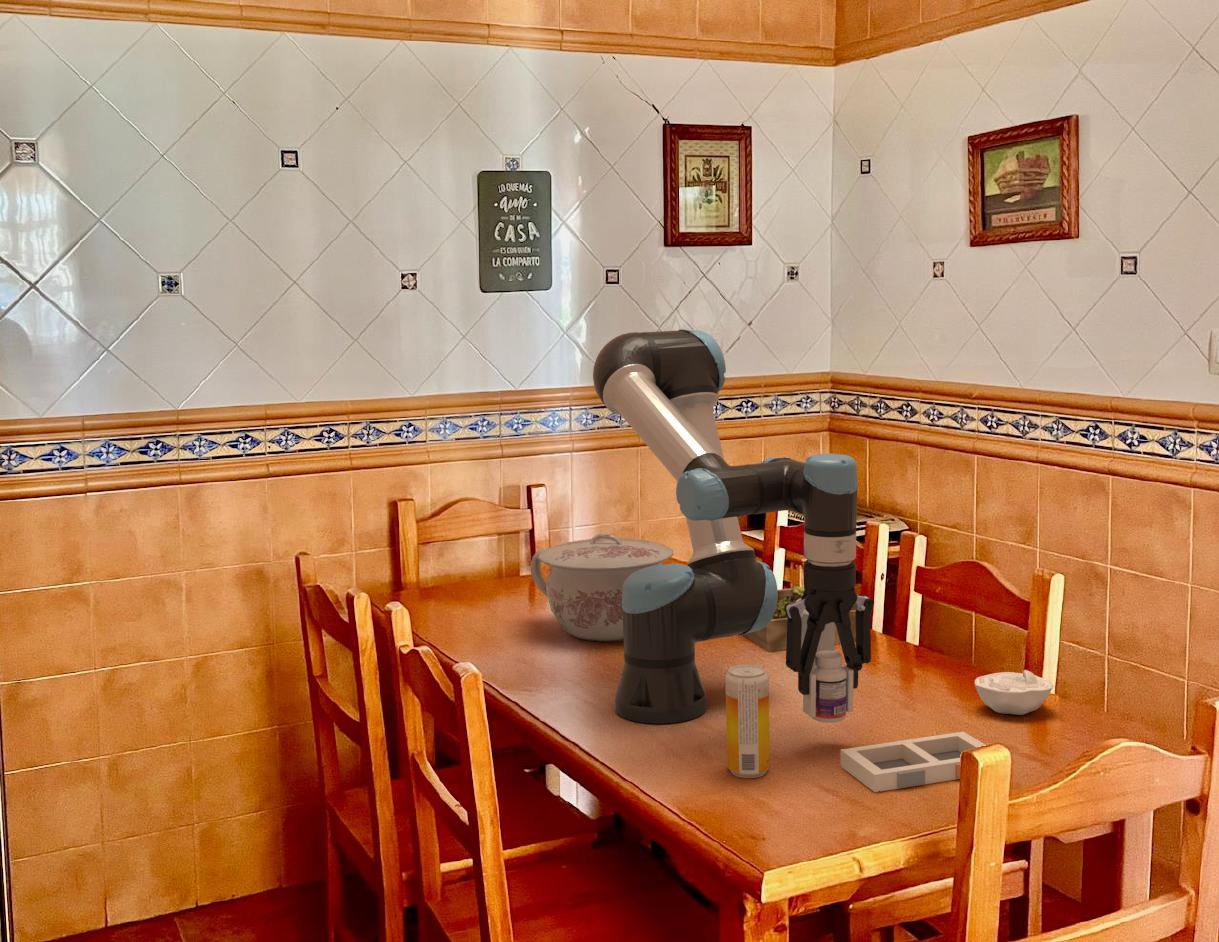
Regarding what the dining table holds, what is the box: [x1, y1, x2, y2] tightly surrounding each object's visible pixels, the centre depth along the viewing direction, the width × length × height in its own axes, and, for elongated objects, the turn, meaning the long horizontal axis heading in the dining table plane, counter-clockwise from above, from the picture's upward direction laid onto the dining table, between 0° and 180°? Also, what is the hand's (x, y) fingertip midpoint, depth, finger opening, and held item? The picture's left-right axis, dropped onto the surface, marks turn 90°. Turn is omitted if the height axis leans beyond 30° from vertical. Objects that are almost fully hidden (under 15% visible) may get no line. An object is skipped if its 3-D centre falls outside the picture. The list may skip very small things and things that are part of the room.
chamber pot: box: [530, 532, 674, 643], centre depth 250 cm, size 28×28×21 cm
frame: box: [743, 586, 856, 653], centre depth 247 cm, size 21×22×6 cm
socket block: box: [840, 731, 987, 793], centre depth 175 cm, size 20×10×2 cm, turn 107°
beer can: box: [724, 664, 771, 779], centre depth 176 cm, size 6×6×15 cm
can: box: [796, 598, 836, 668], centre depth 225 cm, size 8×8×12 cm
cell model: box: [974, 669, 1054, 716], centre depth 197 cm, size 10×12×7 cm
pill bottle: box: [811, 650, 847, 724], centre depth 184 cm, size 5×5×10 cm
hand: (827, 711), depth 185 cm, fingers closed on pill bottle, 5 cm apart
